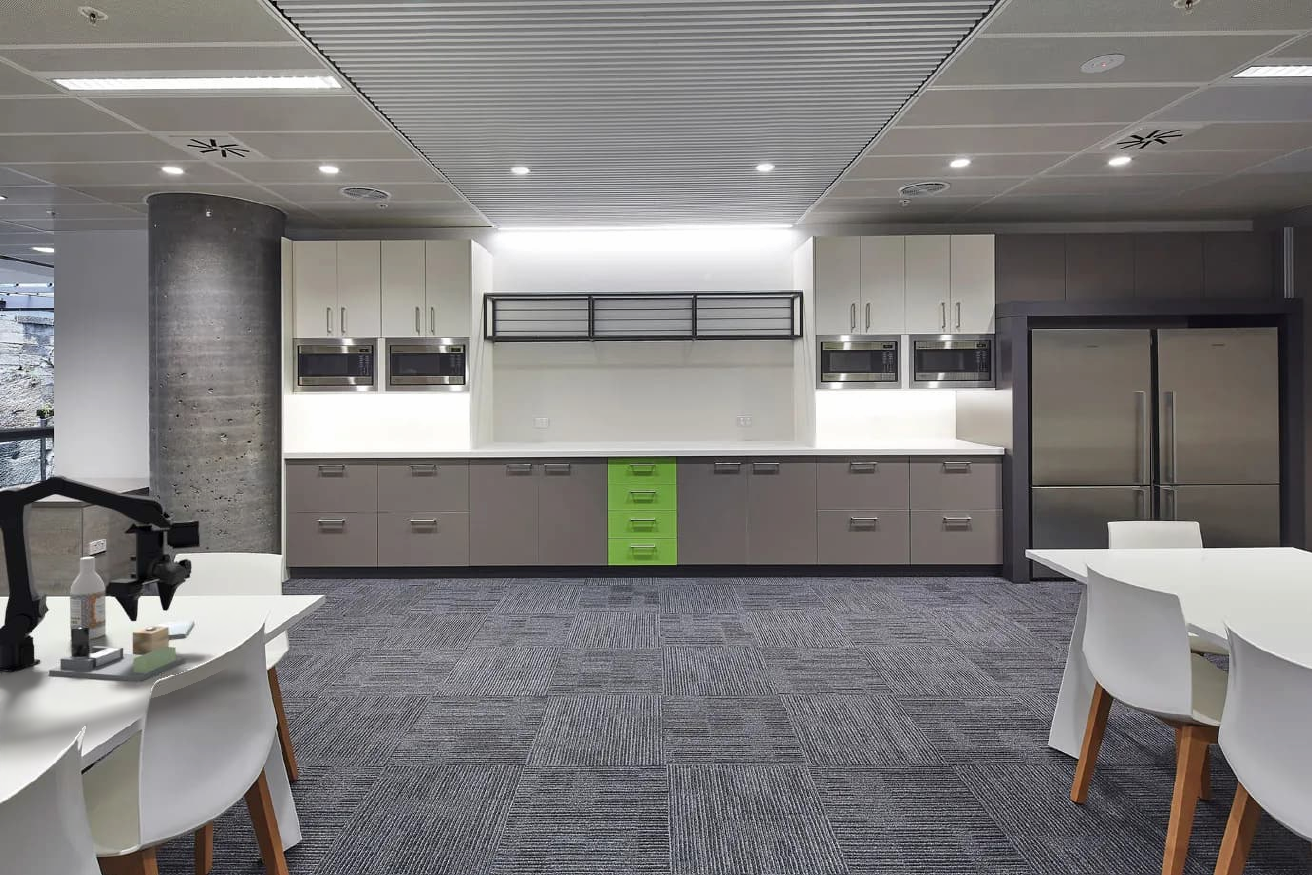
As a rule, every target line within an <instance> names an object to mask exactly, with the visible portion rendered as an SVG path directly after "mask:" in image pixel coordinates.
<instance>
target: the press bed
mask: <svg viewBox="0 0 1312 875" xmlns="http://www.w3.org/2000/svg"><path fill="white" fill-rule="evenodd" d="M107 648H113V649H120V658H118V659H115V660H113V661H110V662H108V663H105V664H103V665H100V666H98V667H93V659H84V658H70V656H69V657H68V656H67V657H66V656H64V657H61V658H60V659H59V660H60V662H59V663H60V666H57V667H54V668H51V669H48V675H49V676H61V677H62V676H63V677H74V678H87V679H88V678H89V679H91V678H92V679H100V680H101V679H102V680H103V679H104V680H114V681H116V680H117V681H131V682H143V681H145V680H147V679H149V678H152V677H154V676H156V675H158V674H160V673H163V672H165V671H167V670H169V669H173V668H174V667H176V666H179V665H181V664H183V663H185V657H179V656H176V651H177V650H176V647H174V646H169V647H161V648H159V649H156V650H154V651H151V652H149V653H146V654H138V653H124V648H123V647H117V646H115V647H113V646H102V645H101V646H100V645H95V646H92V648H91V654H94V653H97V652H99V651H102V650H105V649H107Z"/></svg>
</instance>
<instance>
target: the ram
mask: <svg viewBox="0 0 1312 875" xmlns="http://www.w3.org/2000/svg"><path fill="white" fill-rule="evenodd" d="M90 640H91V639H90V636H89V626H79V627H74V628H72V629H70V648H71V649H70V650H71V655H70V656H69V657H70V658H84V659H93V667H98V666H100V665H103V664H105V663H108V662H110V661H113V660H115V659H118V658H120V649H113V648H107V649H105V650H102V651H99V652H97V653H94V654H92V653H91V652H90V651H91V648H90V646H91V645H90V643H91V642H90Z"/></svg>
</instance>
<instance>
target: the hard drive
mask: <svg viewBox="0 0 1312 875" xmlns="http://www.w3.org/2000/svg"><path fill="white" fill-rule="evenodd" d="M194 624H195V620H183V621H172V622H161V623H157V625H156V626H158V627H169V640H173V639H172V638H175V639H182V638H183V639H185V638H187V636H188V635H189V632H190V631H191V630H192V628H193V626H194Z"/></svg>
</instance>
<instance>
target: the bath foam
mask: <svg viewBox="0 0 1312 875" xmlns="http://www.w3.org/2000/svg"><path fill="white" fill-rule="evenodd" d="M106 611H107V610H106V585H105V582H104V580H103V579H102V578H101V576H100V575H99V574H98V573H97V572H96V559H95V556H83V557H81V558H80V559H79V573H78V575H77V576H76V578H75V579H74V580H73V582H72V584H71V587H70V592H69V612H70V614H69V615H70V616H69V620H70V621H69V622H70V623H69V624H70V625H69V626H70V630H71V629H72V628H74V627H79V626H89V636H90V640H94V639H97V638H100V637H102V636H105V634H106V630H107V628H106V625H107V624H106V620H107V618H106V616H107V615H106Z"/></svg>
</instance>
